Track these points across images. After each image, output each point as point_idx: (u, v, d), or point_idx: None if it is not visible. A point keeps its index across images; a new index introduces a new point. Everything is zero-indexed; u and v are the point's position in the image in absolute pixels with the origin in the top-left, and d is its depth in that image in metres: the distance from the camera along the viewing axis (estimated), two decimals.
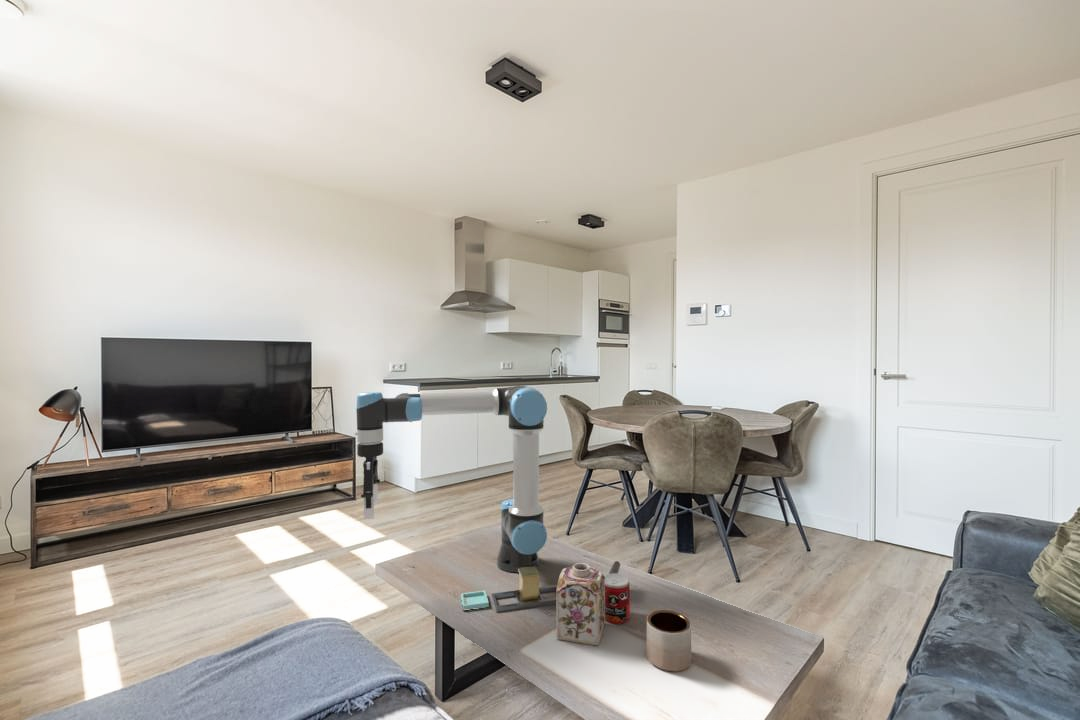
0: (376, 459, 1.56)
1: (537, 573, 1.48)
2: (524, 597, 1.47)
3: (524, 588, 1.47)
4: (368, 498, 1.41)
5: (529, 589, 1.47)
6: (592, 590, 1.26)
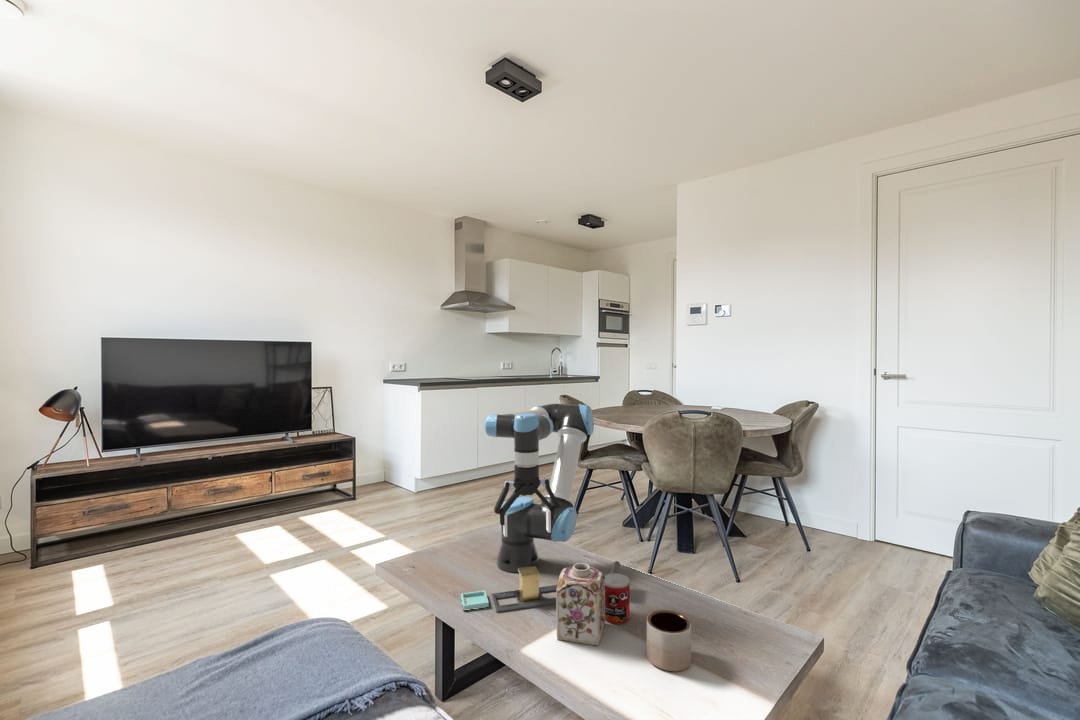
0: (547, 485, 1.49)
1: (537, 573, 1.48)
2: (524, 597, 1.47)
3: (524, 588, 1.47)
4: (500, 515, 1.47)
5: (529, 589, 1.47)
6: (592, 590, 1.26)
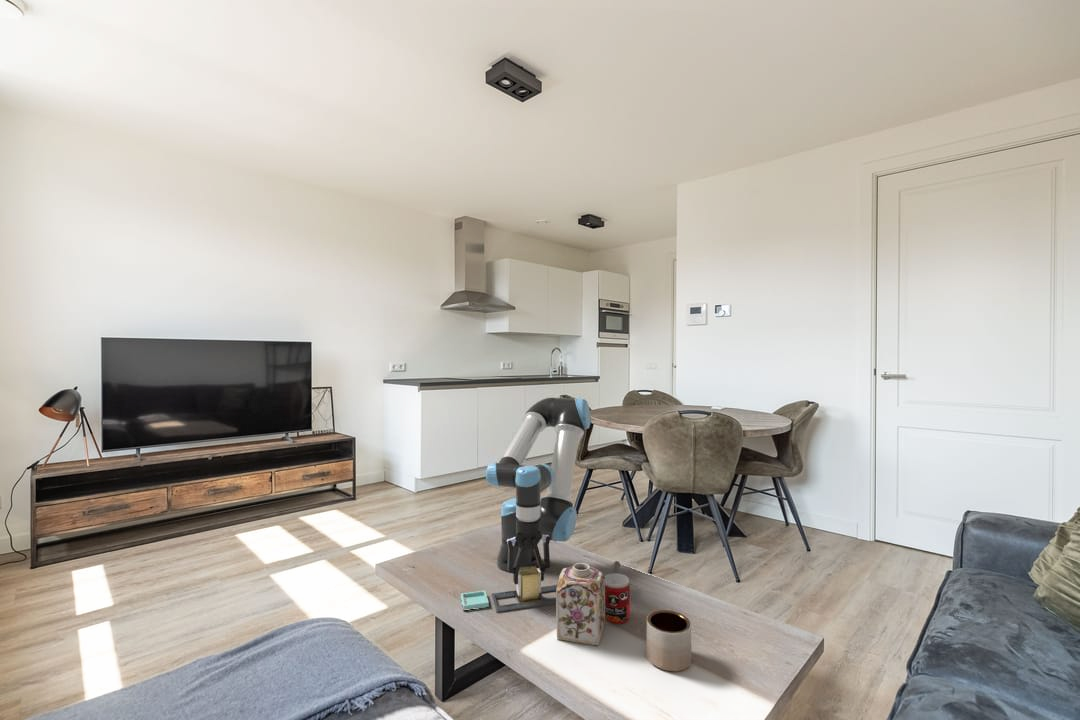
0: (547, 542, 1.50)
1: (537, 573, 1.48)
2: (524, 597, 1.47)
3: (524, 588, 1.47)
4: (513, 573, 1.48)
5: (529, 589, 1.47)
6: (592, 590, 1.26)
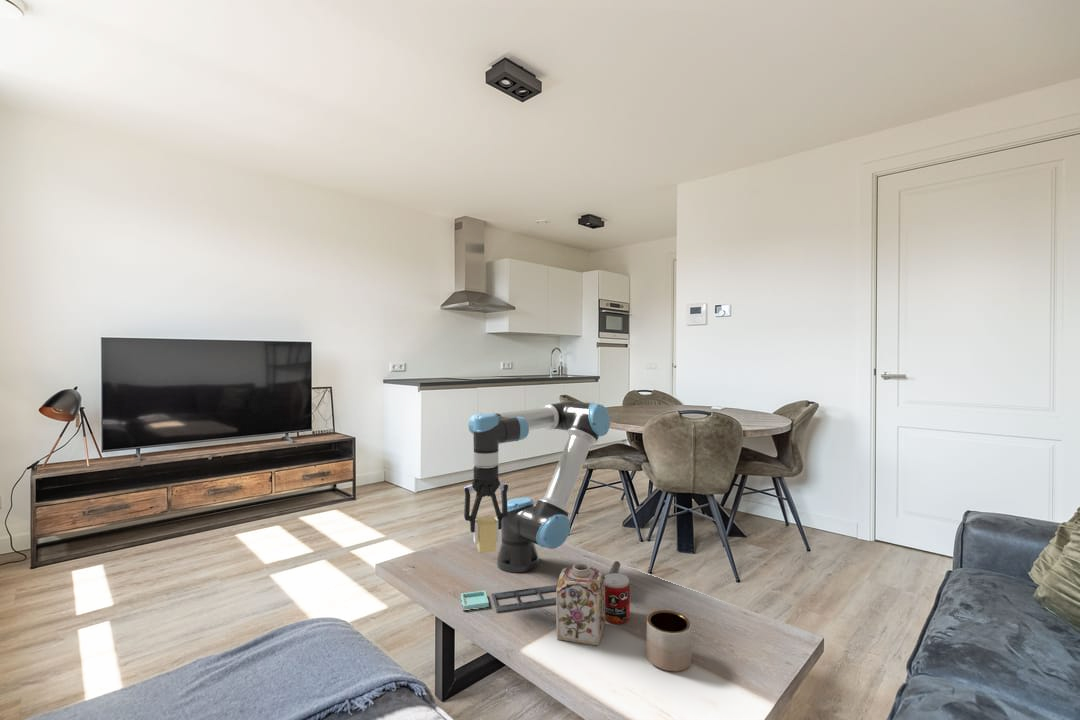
0: (504, 490, 1.48)
1: (494, 521, 1.46)
2: (481, 545, 1.45)
3: (481, 536, 1.45)
4: (470, 522, 1.46)
5: (486, 537, 1.45)
6: (592, 590, 1.26)
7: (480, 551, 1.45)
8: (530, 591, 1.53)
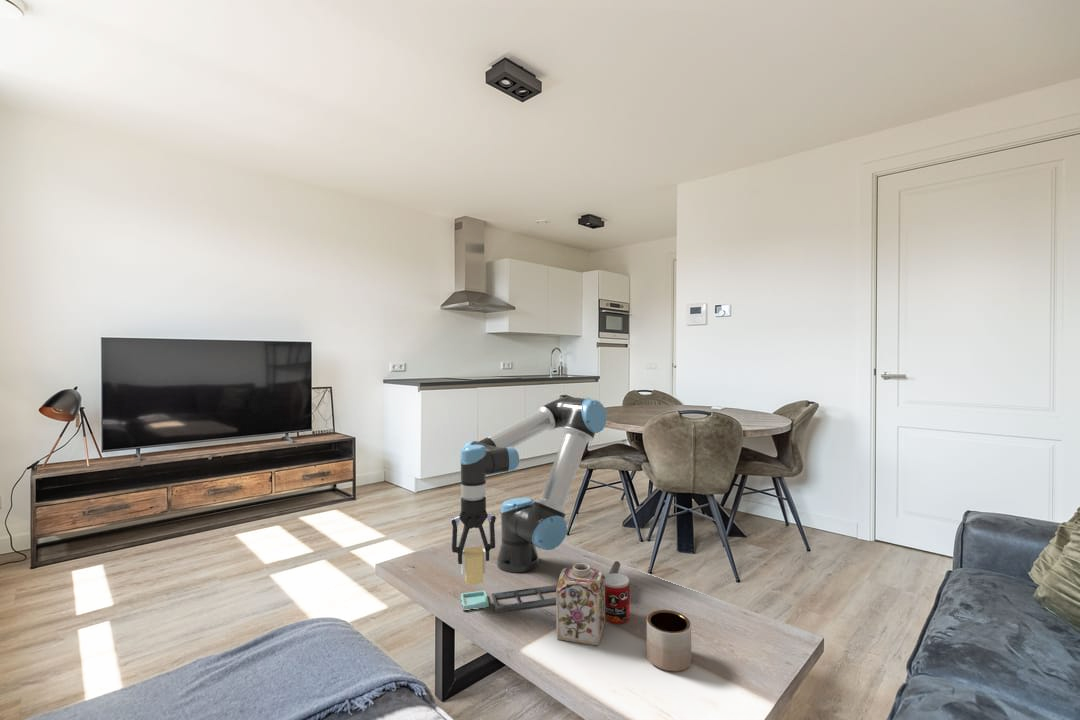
0: (492, 522, 1.48)
1: (481, 553, 1.46)
2: (468, 577, 1.45)
3: (468, 568, 1.45)
4: None
5: (473, 569, 1.45)
6: (592, 590, 1.26)
7: (467, 583, 1.45)
8: (530, 591, 1.53)
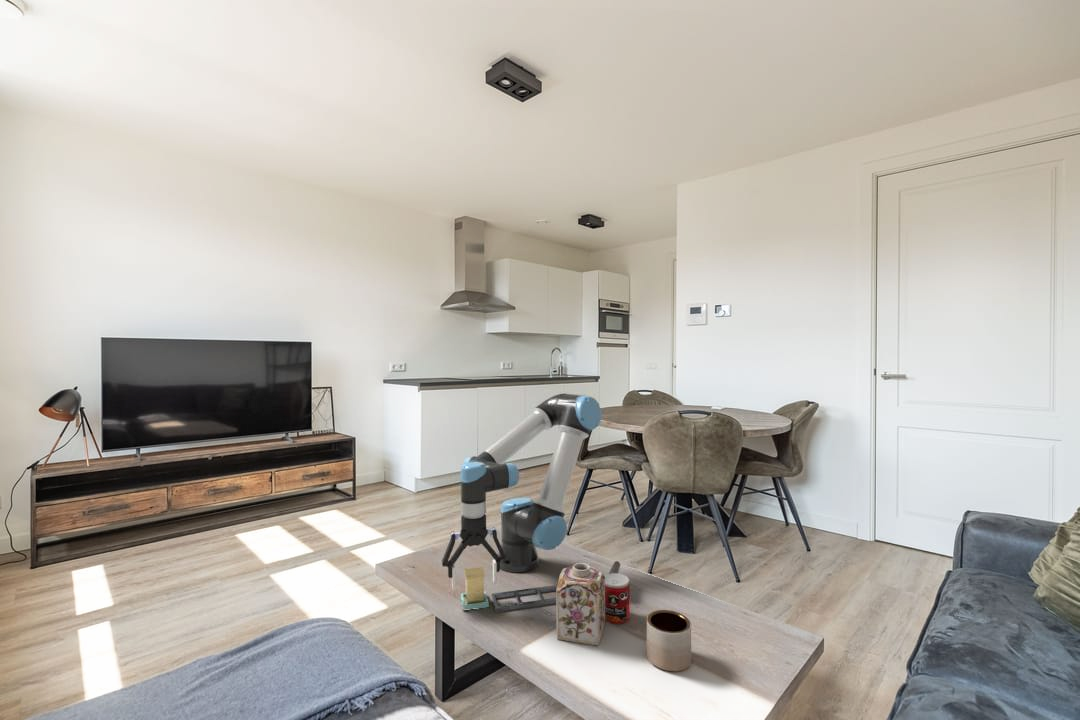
0: (494, 536, 1.48)
1: (482, 574, 1.46)
2: (469, 598, 1.45)
3: (469, 589, 1.45)
4: None
5: (474, 590, 1.45)
6: (592, 590, 1.26)
7: None
8: (530, 591, 1.53)
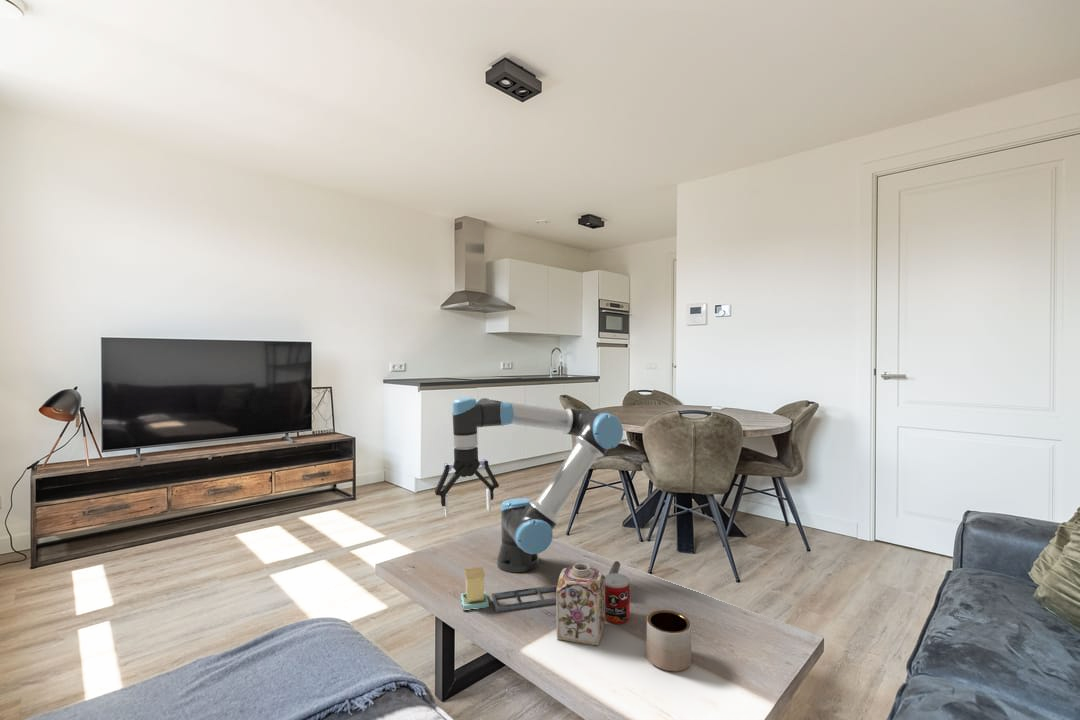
0: (486, 466, 1.56)
1: (482, 574, 1.46)
2: (469, 598, 1.45)
3: (469, 589, 1.45)
4: None
5: (474, 590, 1.45)
6: (592, 590, 1.26)
7: None
8: (530, 591, 1.53)
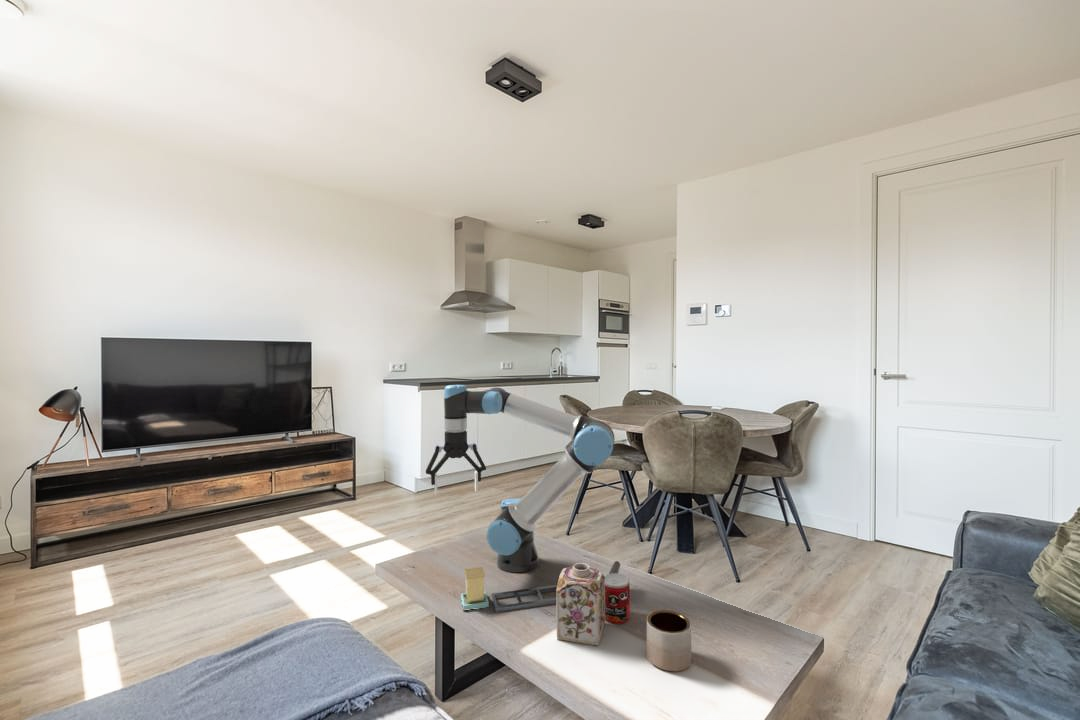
0: (474, 449, 1.66)
1: (482, 574, 1.46)
2: (469, 598, 1.45)
3: (469, 589, 1.45)
4: (431, 475, 1.63)
5: (474, 590, 1.45)
6: (592, 590, 1.26)
7: None
8: (530, 591, 1.53)
